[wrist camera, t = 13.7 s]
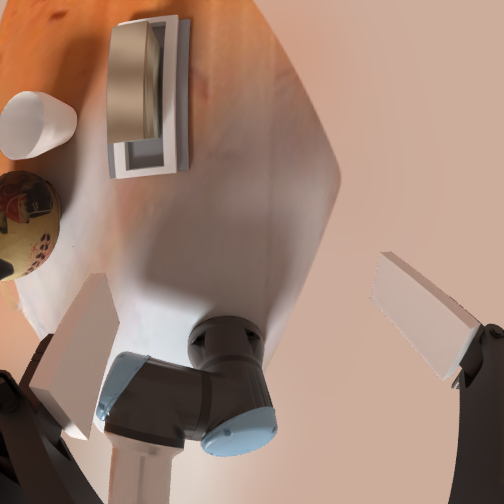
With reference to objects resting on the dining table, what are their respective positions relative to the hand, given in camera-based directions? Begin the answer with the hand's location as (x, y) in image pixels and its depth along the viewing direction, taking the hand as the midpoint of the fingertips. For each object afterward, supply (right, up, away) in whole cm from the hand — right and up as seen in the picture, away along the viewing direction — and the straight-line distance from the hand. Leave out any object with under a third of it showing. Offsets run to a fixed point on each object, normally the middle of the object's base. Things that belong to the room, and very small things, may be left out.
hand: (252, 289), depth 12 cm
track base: (-15, +24, +20) cm, 35 cm away
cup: (-30, +22, +19) cm, 42 cm away
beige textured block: (-15, +24, +19) cm, 34 cm away
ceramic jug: (-36, +8, +24) cm, 44 cm away
